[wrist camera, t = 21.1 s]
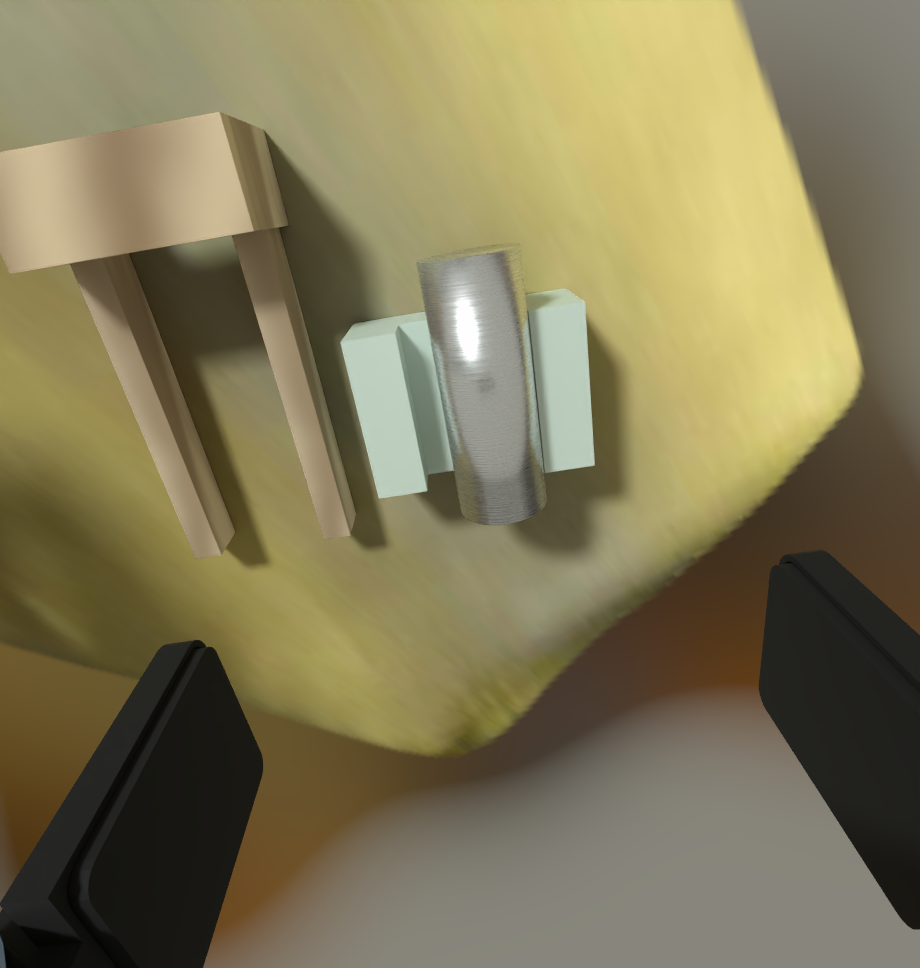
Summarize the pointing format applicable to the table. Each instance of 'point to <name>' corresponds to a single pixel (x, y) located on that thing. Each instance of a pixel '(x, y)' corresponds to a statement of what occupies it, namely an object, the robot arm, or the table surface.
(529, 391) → the axle
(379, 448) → the v block
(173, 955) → the robot arm
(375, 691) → the table surface
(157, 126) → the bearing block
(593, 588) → the table surface
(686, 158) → the table surface
